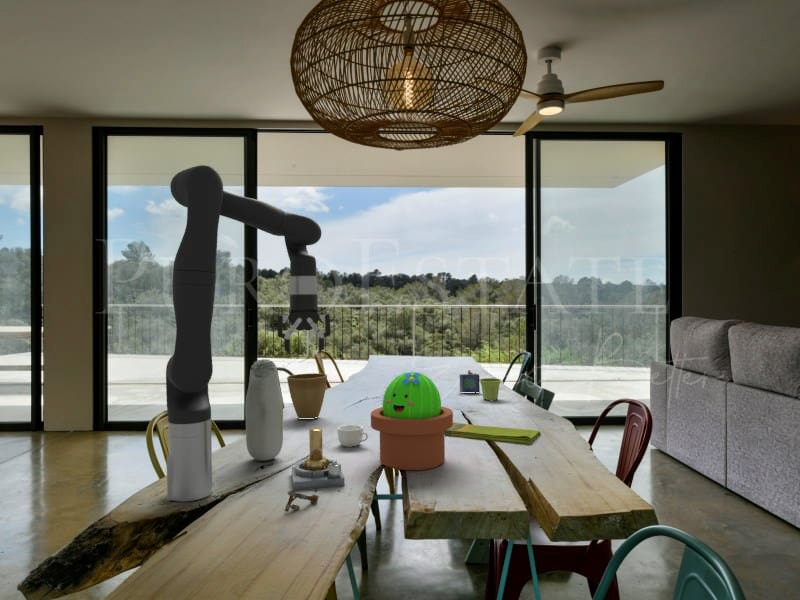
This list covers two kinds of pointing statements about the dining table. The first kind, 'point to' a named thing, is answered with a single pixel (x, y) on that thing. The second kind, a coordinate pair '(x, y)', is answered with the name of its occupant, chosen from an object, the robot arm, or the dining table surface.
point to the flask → (469, 382)
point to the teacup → (351, 435)
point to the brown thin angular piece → (292, 493)
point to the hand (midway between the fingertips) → (304, 352)
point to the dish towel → (492, 433)
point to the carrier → (317, 476)
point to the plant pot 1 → (307, 393)
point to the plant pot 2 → (490, 388)
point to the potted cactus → (412, 423)
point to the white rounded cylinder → (264, 411)
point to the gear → (316, 452)
